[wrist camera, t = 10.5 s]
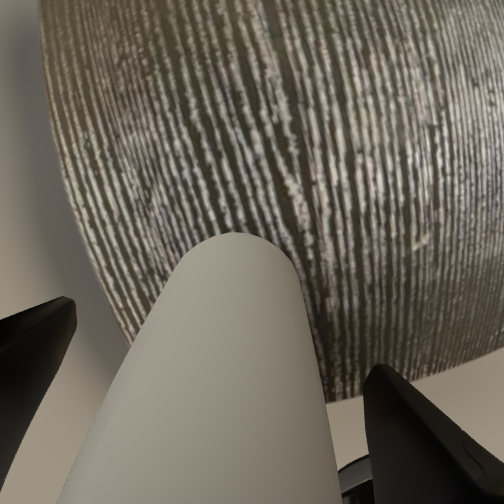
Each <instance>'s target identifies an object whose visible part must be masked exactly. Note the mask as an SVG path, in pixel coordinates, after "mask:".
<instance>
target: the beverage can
mask: <svg viewBox="0 0 504 504" xmlns="http://www.w3.org/2000/svg"><path fill="white" fill-rule="evenodd" d="M56 504H343V503H342V496H341V490H340V484H339V478H338V471H337V465H336V460H335V454H334V448H333V443H332V437H331V432H330V426H329V421H328V415H327V410H326V404H325V399H324V394H323V389H322V384H321V379H320V374H319V369H318V364H317V359H316V354H315V350H314V345H313V340H312V335H311V331H310V326H309V322H308V317H307V312H306V308H305V303H304V299H303V295H302V290H301V286H300V281H299V277H298V275H297V273H296V270H295V268H294V266H293V264H292V262H291V261H290V260H289V259H288V257H287V256H286V255H285V254H284V253H283V251H282V250H281V249H279V248H278V247H276V246H275V245H273V244H272V243H270V242H269V241H267V240H266V239H263V238H260V237H257V236H255V235H252V234H248V233H234V232H230V233H226V234H221V235H217V236H213V237H211V238H209V239H207V240H205V241H203V242H201V243H199V244H197V245H196V246H194V247H193V248H192V249H191V250H189V251H188V252H187V253H186V254H184V256H183V257H182V259H181V260H180V261H179V263H178V264H177V265H176V267H175V269H174V270H173V272H172V274H171V276H170V277H169V279H168V281H167V283H166V284H165V286H164V288H163V290H162V291H161V293H160V295H159V297H158V298H157V300H156V302H155V304H154V306H153V307H152V309H151V311H150V313H149V315H148V316H147V318H146V320H145V322H144V324H143V326H142V327H141V329H140V331H139V333H138V335H137V337H136V338H135V340H134V342H133V344H132V346H131V348H130V350H129V352H128V353H127V355H126V357H125V359H124V361H123V363H122V365H121V367H120V369H119V371H118V373H117V375H116V377H115V378H114V381H113V383H112V384H111V386H110V388H109V390H108V392H107V394H106V396H105V399H104V400H103V402H102V404H101V406H100V408H99V410H98V412H97V414H96V416H95V418H94V421H93V423H92V425H91V427H90V429H89V431H88V433H87V436H86V437H85V440H84V442H83V444H82V446H81V448H80V450H79V452H78V455H77V457H76V459H75V461H74V463H73V466H72V468H71V470H70V472H69V475H68V477H67V479H66V482H65V484H64V487H63V489H62V491H61V494H60V496H59V498H58V501H57V503H56Z"/></svg>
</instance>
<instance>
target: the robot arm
mask: <svg viewBox="0 0 504 504" xmlns="http://www.w3.org/2000/svg"><path fill="white" fill-rule="evenodd" d="M76 327H77V316H76V304H75V301H74V300H73V299H70V298H67V297H64V296H61V297H59V298H56V299H53V300H51V301H48V302H45V303H43V304H40V305H37V306H35V307H32V308H29V309H27V310H24V311H22V312H19V313H16V314H14V315H11V316H9V317H6V318H3V319H1V320H0V492H1V489H2V486H3V484H4V482H5V479H6V476H7V474H8V471H9V469H10V467H11V464H12V462H13V460H14V457H15V455H16V453H17V451H18V448H19V446H20V444H21V442H22V440H23V438H24V435H25V433H26V431H27V429H28V427H29V425H30V423H31V421H32V419H33V417H34V415H35V413H36V411H37V409H38V407H39V405H40V403H41V401H42V399H43V398H44V395H45V394H46V392H47V390H48V388H49V386H50V384H51V383H52V381H53V379H54V377H55V375H56V373H57V371H58V369H59V367H60V365H61V363H62V360H63V358H64V356H65V353H66V351H67V349H68V346H69V344H70V342H71V339H72V337H73V335H74V333H75V331H76ZM363 400H364V415H365V416H364V417H365V430H366V438H367V444H368V451H369V458H370V464H371V472H372V479H373V483H370V484H368V485H365V486H362V487H360V488H357V489H354V490H351V491H348V492H345V493H342V494H341V496H342V503H343V504H504V463H503V462H502V461H500V460H499V459H498V458H496V457H495V456H494V455H492V454H491V453H490V452H488V451H487V450H486V449H485V448H483V447H482V446H481V445H480V444H478V443H477V442H476V441H475V440H474V439H472V438H471V437H470V436H469V435H468V434H467V433H466V432H465V431H463V430H462V429H461V428H460V427H459V426H458V425H457V424H455V423H454V422H453V421H452V420H451V419H450V418H449V417H448V416H446V415H445V414H444V413H443V412H442V411H441V410H439V408H437V407H436V406H435V405H434V404H433V403H432V402H430V401H429V400H428V399H427V398H426V397H425V396H424V395H423V394H422V393H420V392H419V391H418V390H417V389H416V388H415V387H414V386H412V385H411V384H410V383H409V382H408V381H407V380H406V379H405V378H403V377H402V376H401V375H400V374H399V373H398V372H397V371H395V370H394V369H393V368H392V367H391V366H390V365H388V364H381V363H377V364H375V365H374V367H373V368H372V370H371V372H370V373H369V375H368V377H367V378H366V380H365V382H364V384H363Z"/></svg>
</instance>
